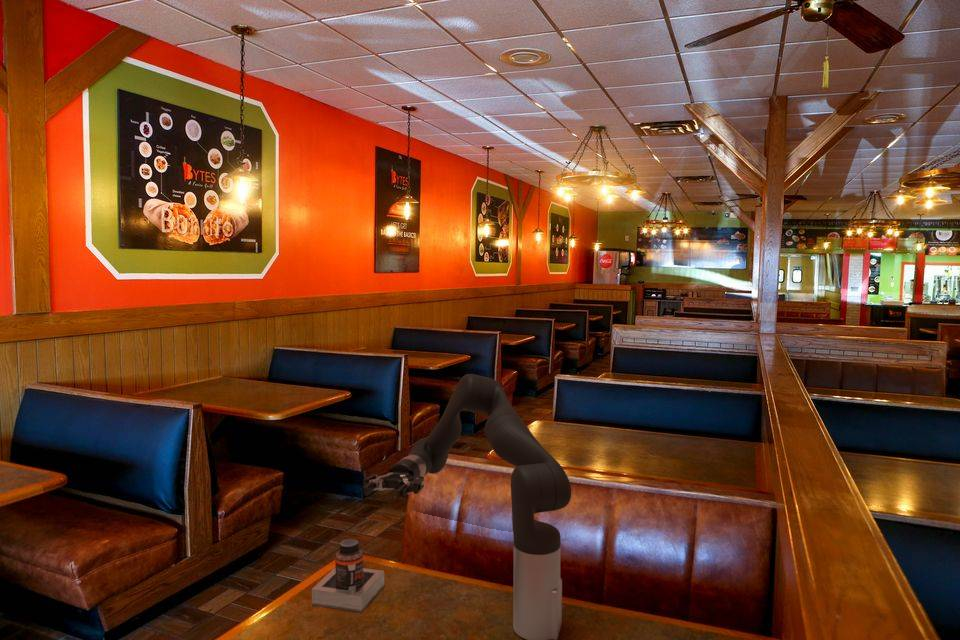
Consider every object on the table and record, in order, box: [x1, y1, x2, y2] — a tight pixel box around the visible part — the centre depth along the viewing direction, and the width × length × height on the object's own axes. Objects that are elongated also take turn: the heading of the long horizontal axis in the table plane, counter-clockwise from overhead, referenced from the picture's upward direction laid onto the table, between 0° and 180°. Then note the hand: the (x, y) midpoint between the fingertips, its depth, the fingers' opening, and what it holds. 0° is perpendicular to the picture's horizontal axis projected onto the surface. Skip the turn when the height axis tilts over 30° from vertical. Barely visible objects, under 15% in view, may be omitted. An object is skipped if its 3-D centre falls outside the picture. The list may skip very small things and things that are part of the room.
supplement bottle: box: [334, 538, 364, 592], centre depth 139 cm, size 6×6×11 cm
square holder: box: [311, 566, 385, 613], centre depth 139 cm, size 12×12×4 cm
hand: (382, 492), depth 150 cm, fingers open, 8 cm apart
